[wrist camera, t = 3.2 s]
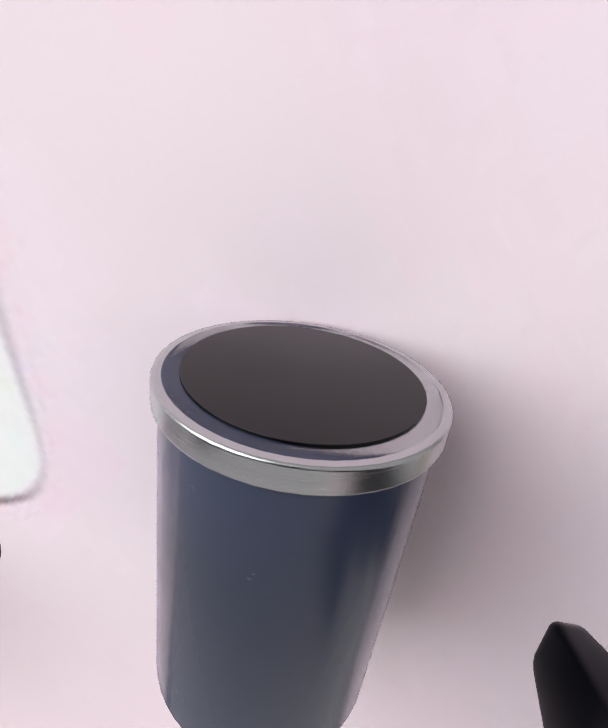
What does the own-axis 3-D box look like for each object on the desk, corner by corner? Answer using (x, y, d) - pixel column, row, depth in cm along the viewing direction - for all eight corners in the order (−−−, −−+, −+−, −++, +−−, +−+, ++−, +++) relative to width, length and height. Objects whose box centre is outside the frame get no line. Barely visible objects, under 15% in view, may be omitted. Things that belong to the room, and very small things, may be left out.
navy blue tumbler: (367, 575, 17) (432, 341, 13) (370, 798, 11) (489, 498, 7) (192, 542, 17) (204, 302, 13) (108, 743, 11) (84, 425, 7)
